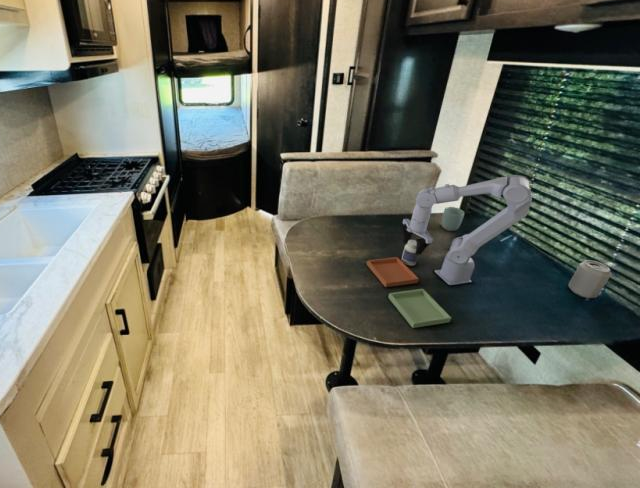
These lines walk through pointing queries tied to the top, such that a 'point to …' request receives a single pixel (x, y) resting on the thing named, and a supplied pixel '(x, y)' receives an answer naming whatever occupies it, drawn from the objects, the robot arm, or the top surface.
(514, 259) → the top surface
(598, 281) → the beige cylinder
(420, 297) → the sage tray
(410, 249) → the pill bottle
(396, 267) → the terracotta tray
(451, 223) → the cup
